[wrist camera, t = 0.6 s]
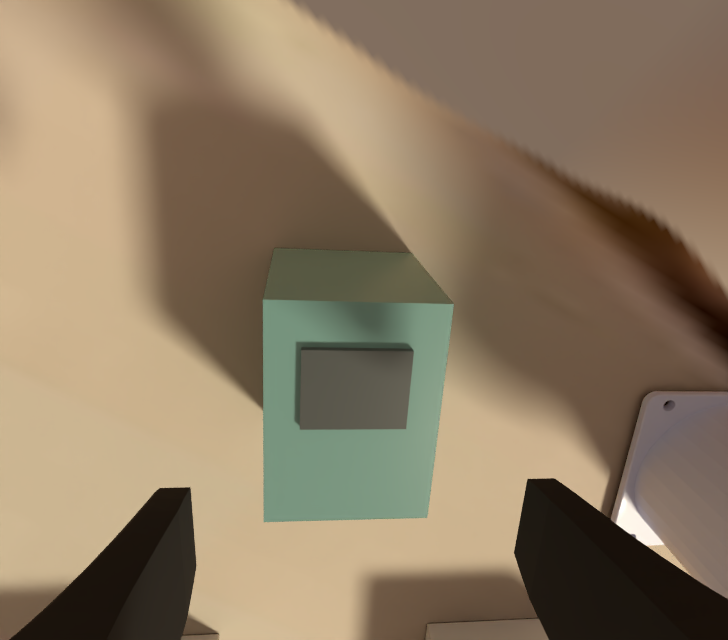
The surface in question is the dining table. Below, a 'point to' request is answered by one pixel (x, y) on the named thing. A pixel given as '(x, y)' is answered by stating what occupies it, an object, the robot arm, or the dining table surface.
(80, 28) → the dining table surface
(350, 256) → the block
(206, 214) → the dining table surface
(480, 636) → the rail mount
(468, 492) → the dining table surface
